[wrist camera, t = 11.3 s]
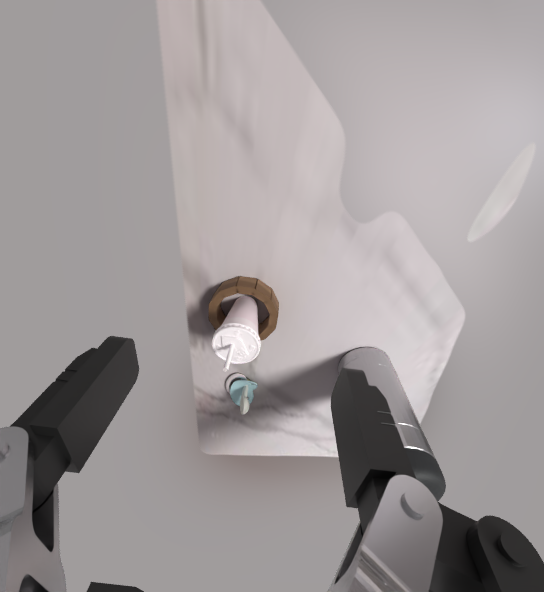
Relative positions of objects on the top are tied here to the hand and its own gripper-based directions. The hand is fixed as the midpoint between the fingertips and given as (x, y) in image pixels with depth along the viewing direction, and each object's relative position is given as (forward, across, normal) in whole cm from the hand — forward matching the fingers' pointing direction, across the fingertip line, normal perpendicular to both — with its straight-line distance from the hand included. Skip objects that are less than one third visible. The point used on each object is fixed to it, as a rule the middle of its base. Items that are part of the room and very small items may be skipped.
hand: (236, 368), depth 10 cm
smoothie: (+28, +2, +16) cm, 33 cm away
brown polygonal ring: (+28, +2, +16) cm, 32 cm away
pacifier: (+28, +2, +35) cm, 45 cm away
